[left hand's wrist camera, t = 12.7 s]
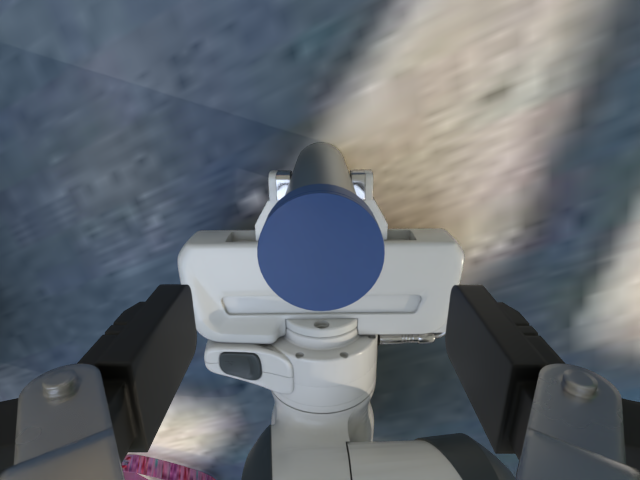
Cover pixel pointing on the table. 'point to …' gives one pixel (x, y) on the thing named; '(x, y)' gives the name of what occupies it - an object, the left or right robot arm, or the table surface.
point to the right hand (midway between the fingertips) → (320, 171)
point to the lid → (321, 248)
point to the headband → (158, 469)
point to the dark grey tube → (320, 168)
